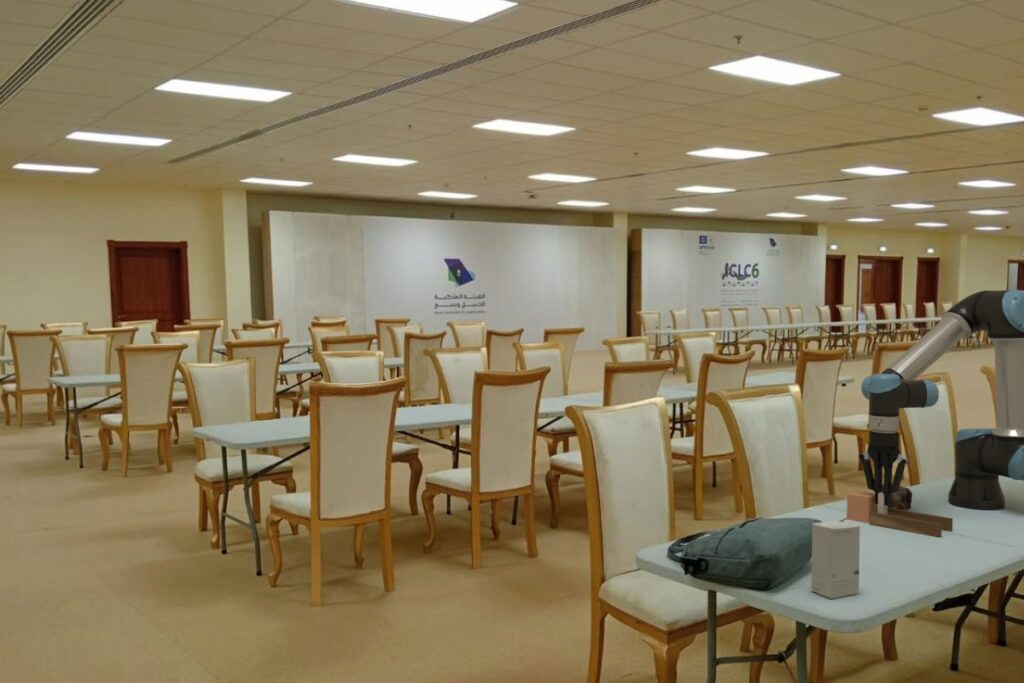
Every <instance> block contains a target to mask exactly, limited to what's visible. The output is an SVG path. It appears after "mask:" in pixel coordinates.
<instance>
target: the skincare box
mask: <svg viewBox="0 0 1024 683" xmlns="http://www.w3.org/2000/svg"><path fill="white" fill-rule="evenodd" d="M811 527H812V528H811V536H812V537H811V577H810V578H811V583H810V584H811V592H813V593H816V594H819V595H820V596H823V597H825V598H826V599H830V600H832V599H833V600H834V599H837V598H841V597H842V598H843V597H848V596H853V595H859V593H860V591H859V590H860V540H861V539H860V536H861V535H860V533H861V530H860V528H861V526H860V525H858V524H855V523H851V522H847V521H845V520H844V521H840V520H833V521H829V520H828V521H821V522H815V523H814V522H813V523H812V524H811Z"/></svg>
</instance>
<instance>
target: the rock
mask: <svg viewBox="0 0 1024 683" xmlns="http://www.w3.org/2000/svg"><path fill="white" fill-rule="evenodd" d="M882 489H883V491H881V492H884V484H882ZM912 499H913V492H912V491H911V489H910V488H908V487H904V486H901V485H900V486H899V490H898V491H897V492H894V493H891V504H890V505H889V506H887V507H888V508H894V509H900V510H906V511H909V510H910V509H911V508H912V503H913V501H912Z"/></svg>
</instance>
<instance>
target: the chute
mask: <svg viewBox="0 0 1024 683" xmlns="http://www.w3.org/2000/svg"><path fill="white" fill-rule="evenodd" d="M847 520H848V519H847V517H846V518H843V519H840V520H839V521H844V522H845V521H847ZM953 520H954V519H953V517H947V516H941V515H935V514H930V513H923V512H917V511H910V510H908V511H906V510H900V509H894V508H888V507H887V514H881V513H875V512H870V523H869V526H874V527H880V528H885V529H890V530H896V531H901V532H906V533H910V534H911V533H912V534H917V535H923V536H928V537H935V538H940V539H941V537H942V531H945V532H953V530H954V529H953V528H954V527H953V523H954V521H953Z"/></svg>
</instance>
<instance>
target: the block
mask: <svg viewBox="0 0 1024 683" xmlns="http://www.w3.org/2000/svg"><path fill="white" fill-rule="evenodd" d="M846 495H847V497H846V498H847V499H846V502H847V504H846V518H847V519H846V520H851V521H856V522H861V523H867V524H870V512H875V513H878V504H875V492H868V491H866V492H865V491H861V490H855V491H852V492H850V493H847V494H846Z"/></svg>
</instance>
